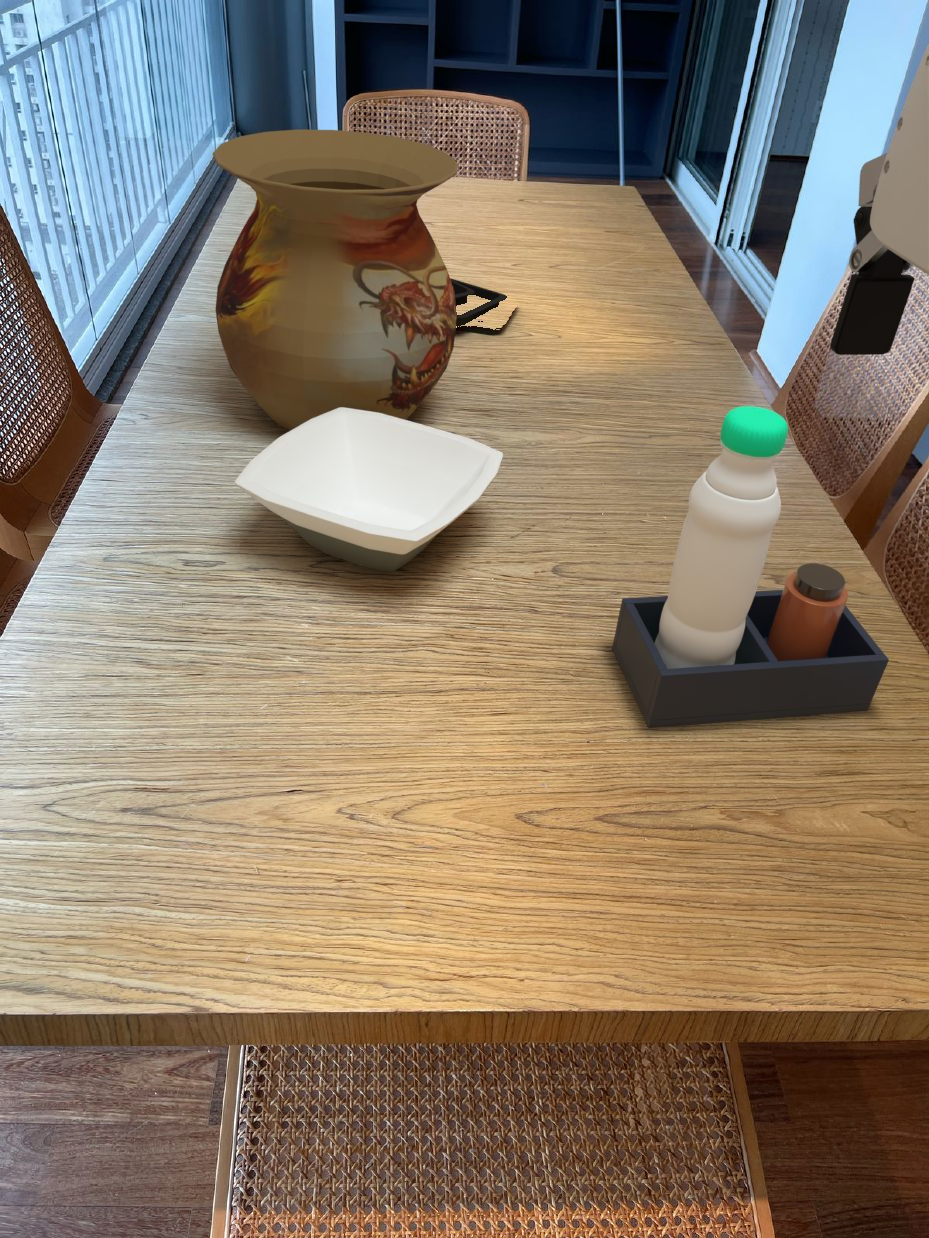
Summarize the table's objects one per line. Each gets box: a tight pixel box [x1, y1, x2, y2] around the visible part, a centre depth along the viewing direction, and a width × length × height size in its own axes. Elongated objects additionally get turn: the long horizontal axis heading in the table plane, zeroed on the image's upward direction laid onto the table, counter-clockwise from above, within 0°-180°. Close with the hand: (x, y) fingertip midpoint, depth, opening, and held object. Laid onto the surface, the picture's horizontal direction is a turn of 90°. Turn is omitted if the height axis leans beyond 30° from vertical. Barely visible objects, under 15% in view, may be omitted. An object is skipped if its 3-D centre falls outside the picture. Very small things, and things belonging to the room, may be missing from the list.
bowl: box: [234, 407, 504, 573], centre depth 102 cm, size 22×23×8 cm
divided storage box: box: [611, 589, 890, 729], centre depth 89 cm, size 11×20×6 cm, turn 100°
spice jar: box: [766, 562, 849, 661], centre depth 88 cm, size 5×5×10 cm
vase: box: [212, 129, 458, 431], centre depth 120 cm, size 29×29×30 cm
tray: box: [450, 277, 507, 336], centre depth 155 cm, size 30×23×5 cm
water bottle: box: [654, 405, 789, 669], centre depth 81 cm, size 7×7×25 cm
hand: (907, 393), depth 48 cm, fingers open, 9 cm apart
